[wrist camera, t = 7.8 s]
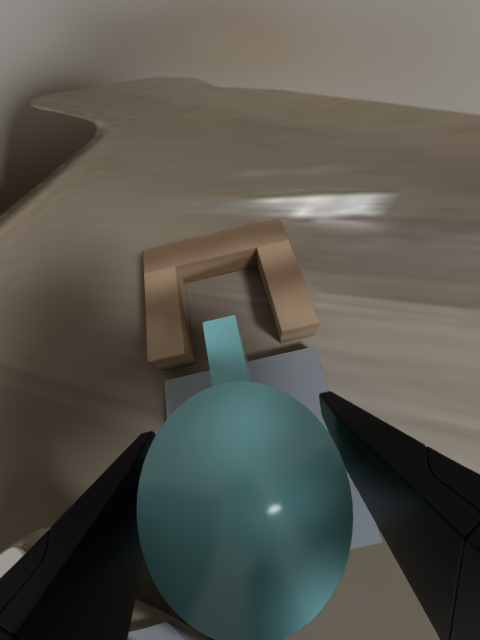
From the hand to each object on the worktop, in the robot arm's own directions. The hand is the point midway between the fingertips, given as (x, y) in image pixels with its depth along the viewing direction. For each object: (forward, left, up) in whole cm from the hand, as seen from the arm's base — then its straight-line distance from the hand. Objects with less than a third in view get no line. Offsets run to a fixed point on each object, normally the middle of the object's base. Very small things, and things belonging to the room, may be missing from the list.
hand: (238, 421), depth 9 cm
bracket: (+8, -4, -8) cm, 13 cm away
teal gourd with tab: (0, 0, -7) cm, 7 cm away
